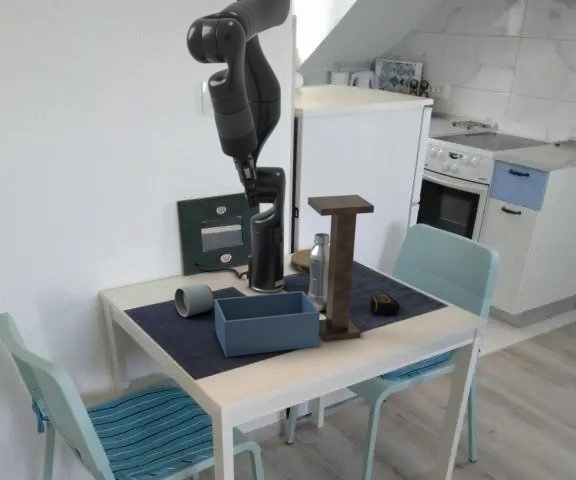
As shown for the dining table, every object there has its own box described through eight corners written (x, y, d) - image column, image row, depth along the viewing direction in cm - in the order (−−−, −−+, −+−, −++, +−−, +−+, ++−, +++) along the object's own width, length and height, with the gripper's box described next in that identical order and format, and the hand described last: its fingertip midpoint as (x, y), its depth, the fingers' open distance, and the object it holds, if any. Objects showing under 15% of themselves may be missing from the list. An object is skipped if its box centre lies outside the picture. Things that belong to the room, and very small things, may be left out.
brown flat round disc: (348, 262, 196) (348, 253, 195) (333, 278, 184) (333, 269, 182) (301, 255, 201) (301, 246, 200) (283, 271, 188) (283, 261, 187)
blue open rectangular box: (225, 357, 141) (224, 322, 136) (215, 332, 151) (214, 299, 147) (318, 346, 146) (319, 312, 141) (302, 323, 157) (303, 290, 152)
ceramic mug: (216, 313, 161) (215, 285, 157) (190, 321, 156) (187, 292, 153) (195, 301, 168) (193, 274, 164) (168, 308, 163) (166, 281, 160)
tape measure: (400, 315, 162) (401, 301, 160) (376, 317, 160) (377, 304, 158) (388, 305, 168) (389, 292, 166) (365, 307, 166) (366, 294, 164)
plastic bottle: (324, 315, 161) (327, 240, 151) (301, 309, 164) (304, 236, 154) (335, 307, 166) (340, 234, 155) (313, 301, 169) (316, 229, 158)
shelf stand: (315, 343, 147) (321, 208, 131) (303, 326, 155) (307, 197, 139) (362, 338, 150) (374, 205, 134) (348, 321, 158) (357, 194, 142)
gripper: (260, 139, 120) (273, 209, 132) (247, 105, 129) (260, 173, 141) (222, 149, 119) (239, 218, 132) (212, 114, 128) (229, 182, 141)
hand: (250, 195), depth 137 cm, fingers open, 8 cm apart
